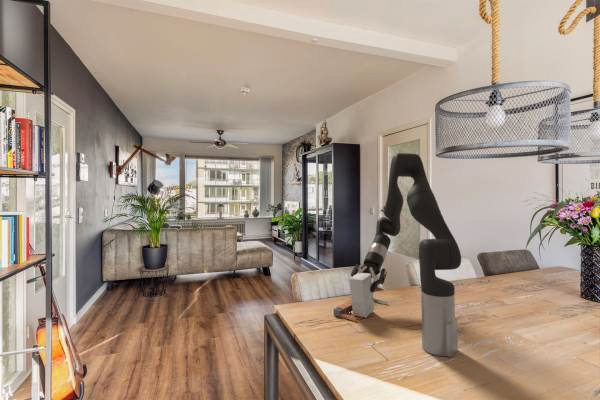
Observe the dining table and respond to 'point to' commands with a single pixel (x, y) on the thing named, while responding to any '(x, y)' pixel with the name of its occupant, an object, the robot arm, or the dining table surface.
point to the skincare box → (361, 294)
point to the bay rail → (347, 307)
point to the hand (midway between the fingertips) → (362, 289)
